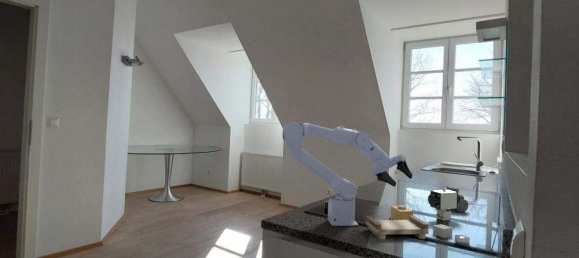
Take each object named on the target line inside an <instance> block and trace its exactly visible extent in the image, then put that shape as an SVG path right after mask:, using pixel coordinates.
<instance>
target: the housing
mask: <svg viewBox="0 0 579 258" xmlns="http://www.w3.org/2000/svg"><path fill="white" fill-rule="evenodd" d="M409 216H414V210H412V209H410V208H408V207H407V206H406V205H400V204H399V205H390V215H389V216H388V217H390V218H392V219H393V220H409ZM390 218H389V219H390ZM392 219H391V220H392Z"/></svg>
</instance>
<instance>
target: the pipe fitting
mask: <svg viewBox="0 0 579 258" xmlns="http://www.w3.org/2000/svg"><path fill="white" fill-rule="evenodd" d="M446 190H451V191H456V192H458V195H459V196H460V203H459V204H458V208H453V209H452V210H454V211H455V212H458V213H460V214H463V213H465V212H467V210H468V209H469V201H468V200H467V199H465V196H464V194H461V193H459V192H460V188H458V187H457V186H453V185H446Z"/></svg>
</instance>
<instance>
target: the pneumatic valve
mask: <svg viewBox="0 0 579 258" xmlns="http://www.w3.org/2000/svg"><path fill="white" fill-rule="evenodd" d="M458 194H459V192H456V191H451V190H447V188H444V187H443V188H442V189H437V190H430V192H429V195H428V196H427V202H428V204H429V205H430V206H429V207H430V208H433V209H436V213H435V216H436V219H438V220H441V221H443V222H446V221H451V217H452V212H451V211H450V209H451V210H453V208H458V204H459V203H460V196H459V195H458Z"/></svg>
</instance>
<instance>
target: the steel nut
mask: <svg viewBox="0 0 579 258" xmlns="http://www.w3.org/2000/svg"><path fill="white" fill-rule="evenodd" d="M470 241H471V240H470V237H469V236H467V235H464V234H455V235H454V243H455V244H456V245H458V246H459V245H460V246H470V245H469V244H470Z"/></svg>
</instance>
